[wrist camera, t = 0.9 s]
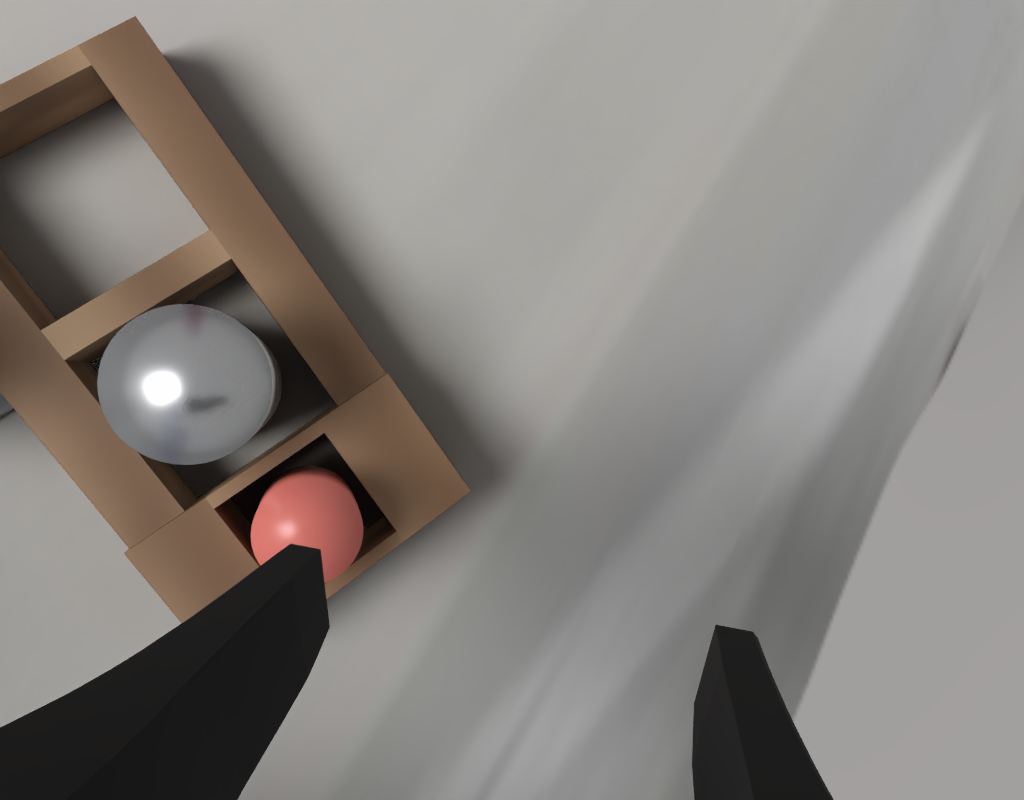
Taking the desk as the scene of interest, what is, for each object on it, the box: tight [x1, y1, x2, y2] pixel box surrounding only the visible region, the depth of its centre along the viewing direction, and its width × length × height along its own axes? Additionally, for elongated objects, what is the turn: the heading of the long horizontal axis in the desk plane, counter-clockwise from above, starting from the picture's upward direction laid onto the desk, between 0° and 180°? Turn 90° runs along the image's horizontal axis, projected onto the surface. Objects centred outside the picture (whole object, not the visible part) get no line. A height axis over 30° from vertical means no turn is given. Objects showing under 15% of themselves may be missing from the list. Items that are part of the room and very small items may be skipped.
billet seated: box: [97, 304, 282, 465], centre depth 20 cm, size 4×4×6 cm
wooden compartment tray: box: [0, 16, 471, 623], centre depth 22 cm, size 9×17×3 cm, turn 35°
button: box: [251, 466, 363, 583], centre depth 21 cm, size 3×3×3 cm
